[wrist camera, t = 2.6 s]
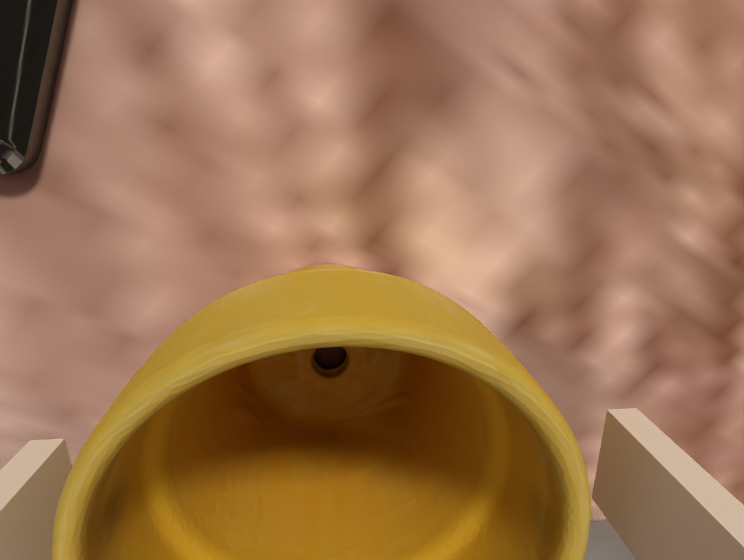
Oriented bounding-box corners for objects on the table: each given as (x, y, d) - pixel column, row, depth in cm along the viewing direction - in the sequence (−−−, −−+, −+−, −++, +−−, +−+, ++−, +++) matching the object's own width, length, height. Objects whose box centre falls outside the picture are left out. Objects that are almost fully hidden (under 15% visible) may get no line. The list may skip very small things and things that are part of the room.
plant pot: (450, 450, 20) (558, 724, 11) (208, 462, 19) (94, 776, 10) (470, 215, 17) (648, 313, 8) (181, 214, 16) (-27, 327, 6)
